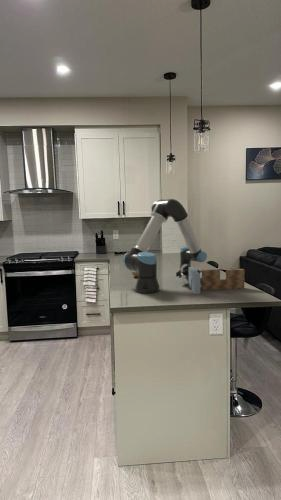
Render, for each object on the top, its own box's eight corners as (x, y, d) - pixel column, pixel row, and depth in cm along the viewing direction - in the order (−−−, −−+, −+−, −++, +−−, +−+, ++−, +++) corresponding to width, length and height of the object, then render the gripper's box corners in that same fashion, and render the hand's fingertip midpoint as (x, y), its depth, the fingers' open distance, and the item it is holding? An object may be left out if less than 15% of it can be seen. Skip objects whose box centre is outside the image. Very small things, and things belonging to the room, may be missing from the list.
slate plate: (200, 294, 183) (200, 274, 182) (195, 294, 183) (195, 274, 182) (193, 284, 207) (193, 266, 205) (188, 284, 207) (188, 266, 205)
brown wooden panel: (202, 289, 194) (202, 270, 192) (201, 288, 197) (201, 269, 195) (244, 288, 194) (244, 269, 192) (242, 287, 197) (243, 268, 195)
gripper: (204, 275, 221) (211, 282, 199) (170, 275, 220) (173, 282, 199) (204, 264, 220) (211, 270, 198) (170, 265, 219) (173, 271, 198)
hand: (192, 276), depth 199 cm, fingers open, 12 cm apart
